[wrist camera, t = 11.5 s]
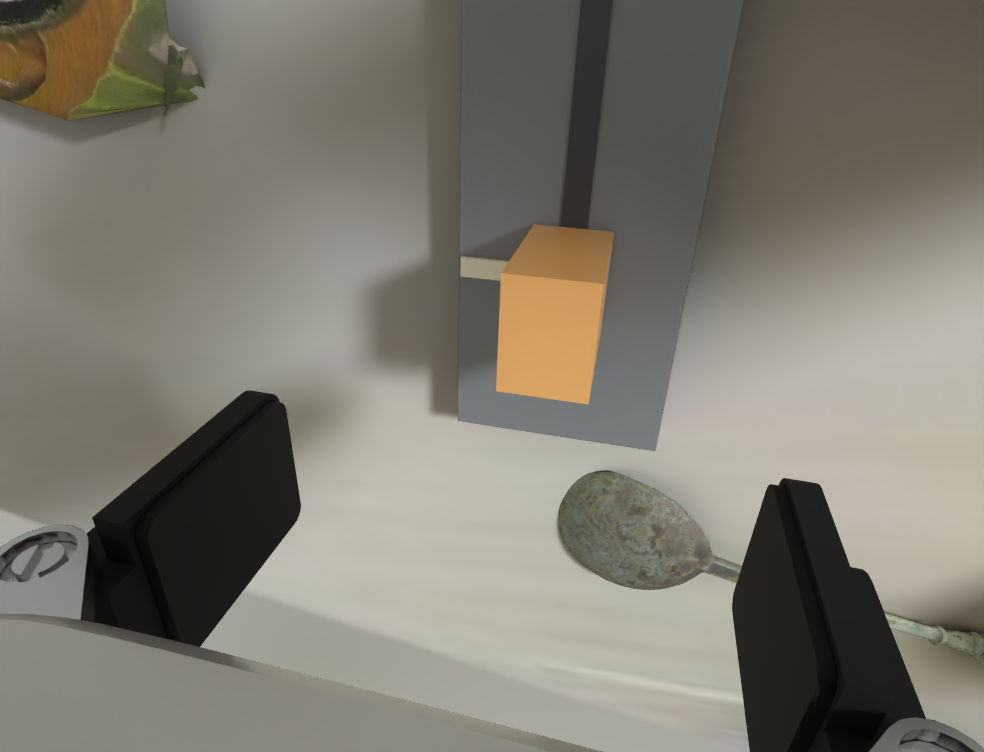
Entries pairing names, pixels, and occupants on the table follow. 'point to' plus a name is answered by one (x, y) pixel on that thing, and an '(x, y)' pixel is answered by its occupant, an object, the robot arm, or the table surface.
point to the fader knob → (553, 313)
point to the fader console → (588, 185)
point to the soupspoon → (669, 546)
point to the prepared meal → (91, 57)
